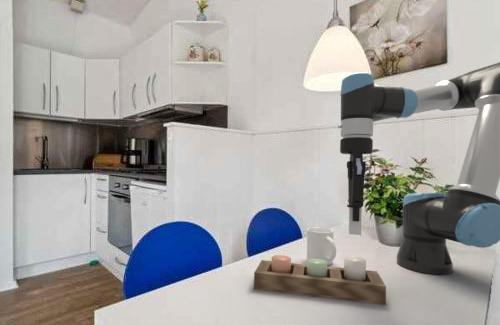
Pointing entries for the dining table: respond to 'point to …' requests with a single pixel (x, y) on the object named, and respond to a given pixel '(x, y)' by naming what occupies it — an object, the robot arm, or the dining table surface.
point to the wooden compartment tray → (321, 283)
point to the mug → (321, 244)
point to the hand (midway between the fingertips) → (354, 233)
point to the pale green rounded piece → (317, 267)
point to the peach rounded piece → (281, 264)
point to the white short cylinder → (354, 268)
